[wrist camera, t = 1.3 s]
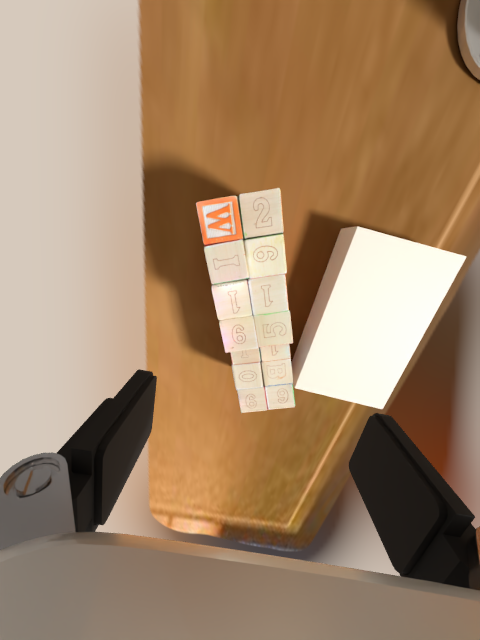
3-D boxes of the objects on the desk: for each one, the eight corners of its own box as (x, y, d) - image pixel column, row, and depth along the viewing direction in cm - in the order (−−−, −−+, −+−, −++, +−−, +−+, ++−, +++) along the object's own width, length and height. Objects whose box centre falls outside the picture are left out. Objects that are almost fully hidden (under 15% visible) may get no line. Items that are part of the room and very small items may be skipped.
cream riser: (431, 254, 29) (466, 256, 25) (364, 386, 36) (382, 409, 31) (339, 228, 29) (357, 226, 24) (288, 368, 35) (294, 388, 30)
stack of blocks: (283, 366, 35) (301, 429, 23) (241, 370, 35) (238, 435, 24) (268, 208, 28) (281, 185, 16) (216, 216, 29) (194, 199, 17)
